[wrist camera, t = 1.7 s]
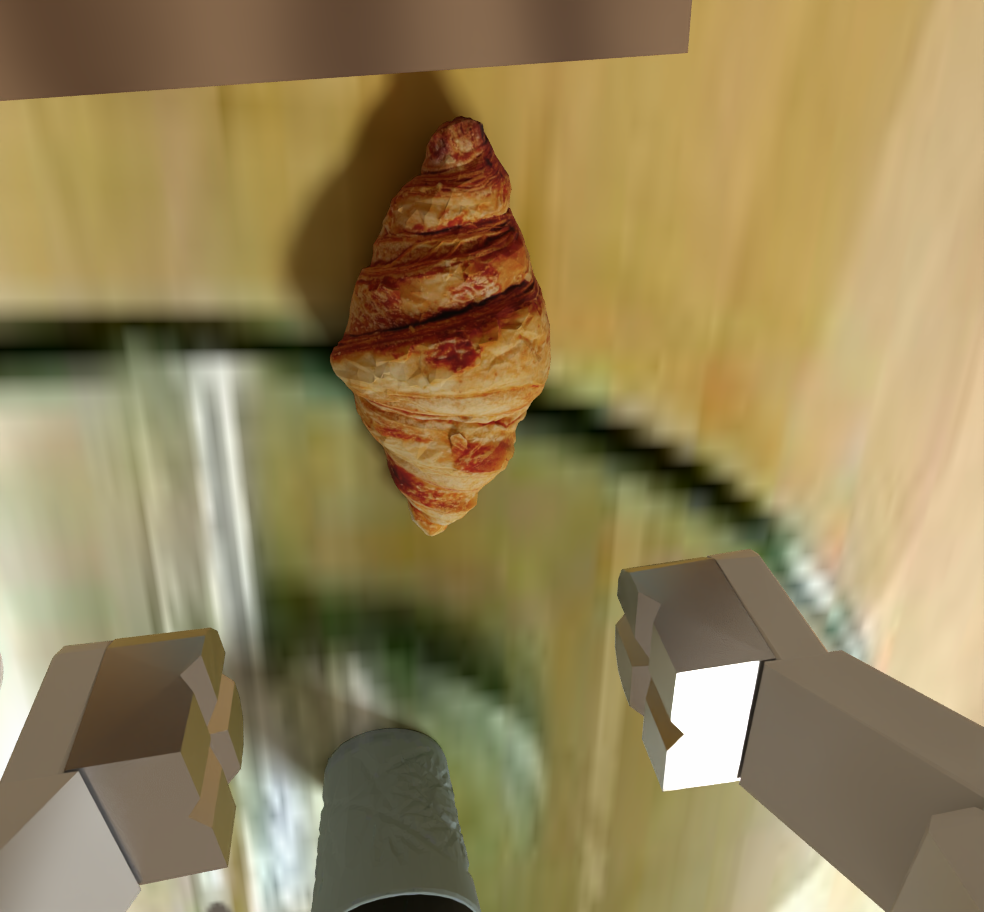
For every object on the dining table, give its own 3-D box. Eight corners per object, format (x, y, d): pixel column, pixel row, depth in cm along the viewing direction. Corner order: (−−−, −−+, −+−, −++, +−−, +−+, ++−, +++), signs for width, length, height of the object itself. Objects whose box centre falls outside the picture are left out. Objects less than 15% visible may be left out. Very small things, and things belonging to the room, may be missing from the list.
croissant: (473, 475, 47) (560, 547, 42) (322, 530, 42) (400, 620, 37) (500, 97, 36) (623, 132, 31) (297, 106, 31) (405, 150, 25)
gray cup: (307, 811, 56) (299, 994, 46) (320, 716, 51) (315, 899, 41) (445, 808, 59) (465, 982, 49) (470, 717, 54) (499, 891, 44)
